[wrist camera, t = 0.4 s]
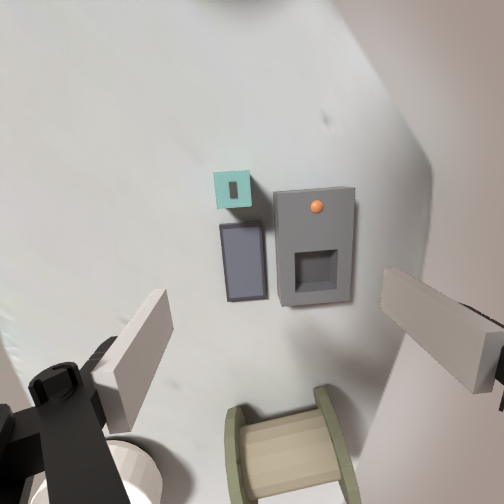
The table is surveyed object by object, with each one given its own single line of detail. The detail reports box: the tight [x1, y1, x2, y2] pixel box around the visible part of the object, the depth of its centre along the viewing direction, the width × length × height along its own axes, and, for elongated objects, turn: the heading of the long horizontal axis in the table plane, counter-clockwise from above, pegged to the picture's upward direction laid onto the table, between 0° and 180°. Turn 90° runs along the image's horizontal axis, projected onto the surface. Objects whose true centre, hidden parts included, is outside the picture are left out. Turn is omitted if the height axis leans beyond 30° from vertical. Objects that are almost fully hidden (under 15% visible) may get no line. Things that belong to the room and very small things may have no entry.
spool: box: [224, 387, 361, 504], centre depth 40 cm, size 16×15×15 cm
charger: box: [213, 170, 252, 209], centre depth 32 cm, size 4×4×7 cm
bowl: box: [31, 440, 163, 504], centre depth 45 cm, size 20×20×8 cm
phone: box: [219, 221, 266, 302], centre depth 38 cm, size 6×12×1 cm, turn 4°
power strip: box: [273, 187, 355, 307], centre depth 36 cm, size 16×10×4 cm, turn 4°
